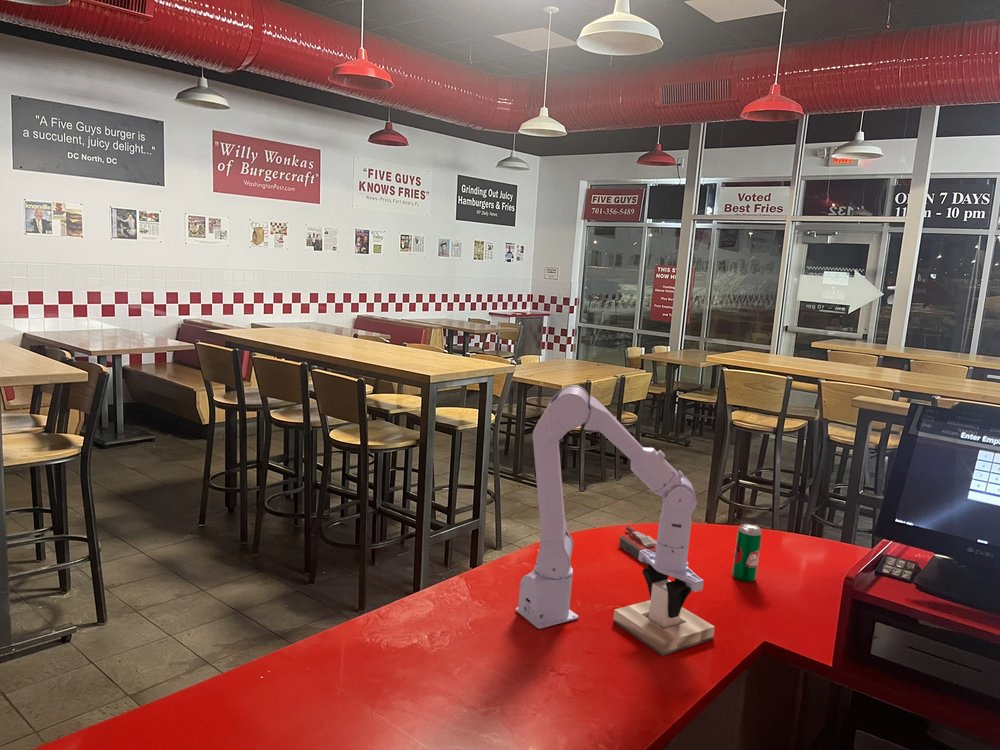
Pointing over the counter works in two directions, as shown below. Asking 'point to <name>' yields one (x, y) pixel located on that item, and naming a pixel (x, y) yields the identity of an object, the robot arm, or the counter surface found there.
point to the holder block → (663, 629)
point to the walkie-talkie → (637, 543)
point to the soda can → (747, 552)
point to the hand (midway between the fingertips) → (664, 611)
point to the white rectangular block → (661, 605)
